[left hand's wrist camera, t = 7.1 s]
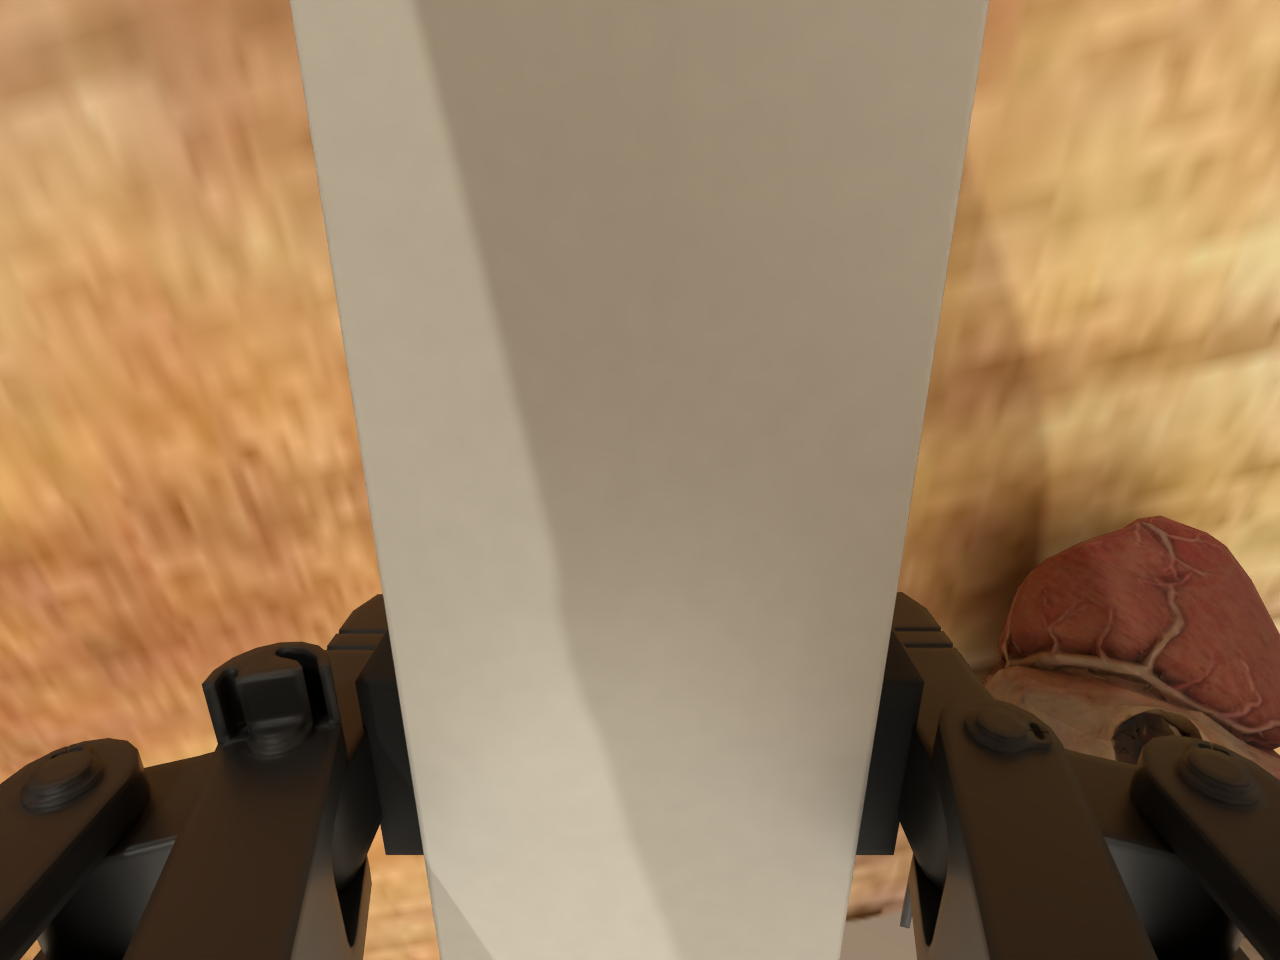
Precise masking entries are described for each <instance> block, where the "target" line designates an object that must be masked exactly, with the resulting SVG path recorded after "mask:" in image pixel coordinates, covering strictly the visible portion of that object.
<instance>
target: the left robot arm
mask: <svg viewBox="0 0 1280 960" xmlns="http://www.w3.org/2000/svg"><path fill="white" fill-rule="evenodd" d="M202 687H203V691H204V694H205V698H206V702H207V705H208V709H209V713H210V716H211V720H212V723H213V727H214V731H215V734H216V738H217V742H218V745H217V748H216V750H215V752H211V753H208V754H204V755H201V756H197V757H192V758H188V759H183V760H179V761H174V762H169V763H165V764H160V765H156V766H151V767H147V768H144V767H143V764H142V761H141V758H140V755H139V752H138V749H137V748H135V747H134V746H133V745H132V744H131V743H129V742H128V741H125V740H118V739H111V738H106V739H98V740H91V741H84V742H80V743H77V744H73V745H70V746H68V747H67V746H66V747H63V748H61V749H58V750H55V751H53V752H51V753H49V754H47V755H45V756H43V757H41V758H39V759H37V760H35V761H33V762H31V763H29V764H27V765H26V766H24V767H23V768H22V769H20V770H19V771H18V772H16V773H15V774H13V775H12V776H11V777H9V778H8V779H7V780H5V781H4V782H2V783H1V784H0V960H20V959H21V958H22V957H23V955H24V954H25V953H26V952H27V951H28V949H29V948H30V947H31V946H32V944H33V943H34V942H35V941H36V940H38V942H39V945H40V947H41V950H40V951H39V953H38V954H37V955H36V956H35V958H34V959H33V960H363V954H364V945H365V937H366V928H367V919H368V911H369V902H370V893H371V885H372V882H371V874H370V867H369V862H368V857H367V853H368V851H369V848H370V846H371V844H372V841H373V839H374V837H375V834H376V832H377V830H378V828H379V825H381V830H382V836H383V842H384V847H385V853H386V855H424V852H423V846H422V839H421V833H420V827H419V820H418V814H417V807H416V801H415V795H414V788H413V782H412V776H411V769H410V763H409V757H408V750H407V744H406V737H405V731H404V725H403V718H402V712H401V706H400V699H399V693H398V687H397V680H396V674H395V667H394V661H393V655H392V648H391V642H390V636H389V629H388V623H387V617H386V610H385V604H384V597H383V594H378V595H376V596H375V597H373V598H372V599H370V600H369V601H367V602H366V603H364V604H363V605H361V606H360V607H358V608H357V609H355V610H354V611H353V612H352V613H351V615H350V616H349V617H348V619H347V620H346V621H345V623H344V624H343V625H342V627H341V628H340V629H339V634H336V635H335V636H334V638H333V639H332V640H331V642H330V643H329V644H328V646H327V650H323V649H322V648H321V647H320V646H318V645H314V644H309V643H305V642H281V643H276V644H272V645H267V646H263V647H258V648H255V649H253V650H250V651H248V652H245V653H243V654H241V655H238V656H236V657H233V658H232V659H230V660H229V661H227V662H226V663H224V664H223V665H221V666H220V667H218V668H217V669H215V670H214V671H213V672H212V673H211V674H210V675H209V677H208V678H207V679H206V680H205V681H204V683H203V684H202ZM899 822H900V823H901V825H902V828H903V830H904V832H905V834H906V837H907V839H908V841H909V844H910V846H911V848H912V851H913V857H912V862H911V867H910V872H909V878H908V883H907V888H906V893H905V898H904V904H903V909H902V916H901V923H900V926H902V927H906V928H910V923H911V918H913V926H914V935H915V944H916V952H917V960H1250V959H1249V958H1248V957H1247V955H1246V954H1245V953H1244V952H1243V950H1242V949H1241V948H1240V947H1239V945H1240V943H1241V941H1242V939H1243V936H1245V938H1246V939H1247V940H1248V941H1249V942H1250V944H1251V945H1252V946H1253V947H1254V948H1255V950H1256V951H1257V952H1258V953H1259V954H1260V956H1261V957H1262V958H1263V959H1264V960H1280V780H1279V779H1277V778H1276V777H1275V776H1273V775H1272V774H1270V773H1269V772H1268V771H1266V770H1265V769H1263V768H1262V767H1261V766H1259V765H1258V764H1257V763H1255V762H1254V761H1252V760H1250V759H1248V758H1246V757H1244V756H1242V755H1240V754H1238V753H1236V752H1234V751H1232V750H1230V749H1228V748H1226V747H1223V746H1220V745H1218V744H1215V743H1214V744H1213V743H1210V742H1208V741H1204V740H1201V739H1197V738H1190V737H1183V736H1175V735H1169V736H1162V737H1155V738H1152V739H1151V740H1150V741H1149V742H1147V743H1146V744H1145V745H1144V746H1143V747H1142V750H1141V753H1140V756H1139V759H1138V762H1137V765H1133V764H1129V763H1124V762H1120V761H1115V760H1110V759H1106V758H1101V757H1097V756H1092V755H1087V754H1083V753H1079V752H1075V751H1072V750H1068V749H1065V748H1064V746H1063V744H1062V742H1061V741H1060V740H1059V738H1058V737H1057V735H1056V734H1055V733H1054V731H1053V730H1052V729H1051V727H1049V726H1048V725H1047V724H1045V723H1044V722H1043V721H1042V720H1040V719H1039V718H1038V717H1036V716H1035V715H1034V714H1032V713H1030V712H1028V711H1026V710H1024V709H1022V708H1020V707H1017V706H1015V705H1013V704H1011V703H1008V702H1004V701H1000V700H996V699H994V698H993V697H992V696H991V694H990V693H989V692H988V690H987V689H986V688H985V686H984V685H983V684H982V682H981V681H980V680H979V678H978V677H977V676H976V674H975V673H974V671H973V670H972V669H971V667H970V666H969V665H968V663H967V662H966V661H965V659H964V658H963V657H962V655H961V654H960V653H959V651H958V650H957V649H956V648H953V643H952V642H951V641H950V639H949V638H948V637H947V635H946V634H945V633H944V631H941V627H940V626H939V625H938V623H937V622H936V621H935V619H934V618H933V617H932V615H931V614H930V613H929V611H928V610H927V609H926V608H925V607H923V606H922V605H920V604H919V603H917V602H916V601H914V600H913V599H911V598H910V597H908V596H907V595H905V594H904V593H902V592H897V594H896V601H895V607H894V614H893V620H892V626H891V633H890V639H889V646H888V652H887V658H886V665H885V671H884V678H883V684H882V690H881V697H880V703H879V710H878V716H877V722H876V729H875V735H874V742H873V748H872V754H871V761H870V767H869V774H868V780H867V786H866V793H865V799H864V806H863V812H862V818H861V825H860V831H859V838H858V844H857V850H856V855H894V850H895V844H896V839H897V833H898V828H899Z"/></svg>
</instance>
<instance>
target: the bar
mask: <svg viewBox="0 0 1280 960" xmlns="http://www.w3.org/2000/svg"><path fill="white" fill-rule="evenodd" d="M290 6H291V12H292V19H293V25H294V31H295V38H296V44H297V50H298V57H299V63H300V70H301V76H302V82H303V89H304V95H305V101H306V108H307V114H308V120H309V127H310V133H311V139H312V146H313V152H314V159H315V165H316V171H317V178H318V184H319V190H320V197H321V203H322V209H323V216H324V222H325V229H326V235H327V241H328V248H329V254H330V260H331V267H332V273H333V279H334V286H335V292H336V299H337V305H338V311H339V318H340V324H341V330H342V337H343V343H344V349H345V356H346V362H347V368H348V375H349V381H350V388H351V394H352V400H353V407H354V413H355V419H356V426H357V432H358V438H359V445H360V451H361V458H362V464H363V470H364V477H365V483H366V489H367V496H368V502H369V508H370V515H371V521H372V528H373V534H374V540H375V547H376V553H377V559H378V566H379V572H380V578H381V585H382V591H383V597H384V604H385V610H386V617H387V623H388V629H389V636H390V642H391V648H392V655H393V661H394V667H395V674H396V680H397V687H398V693H399V699H400V706H401V712H402V718H403V725H404V731H405V737H406V744H407V750H408V757H409V763H410V769H411V776H412V782H413V788H414V795H415V801H416V807H417V814H418V820H419V827H420V833H421V839H422V846H423V852H424V858H425V865H426V871H427V877H428V884H429V890H430V896H431V903H432V909H433V916H434V922H435V928H436V935H437V941H438V947H439V954H440V960H839V959H840V953H841V946H842V940H843V934H844V927H845V921H846V914H847V908H848V902H849V895H850V889H851V882H852V876H853V870H854V863H855V857H856V850H857V844H858V838H859V831H860V825H861V818H862V812H863V806H864V799H865V793H866V786H867V780H868V774H869V767H870V761H871V754H872V748H873V742H874V735H875V729H876V722H877V716H878V710H879V703H880V697H881V690H882V684H883V678H884V671H885V665H886V658H887V652H888V646H889V639H890V633H891V626H892V620H893V614H894V607H895V601H896V594H897V588H898V582H899V575H900V569H901V562H902V556H903V550H904V543H905V537H906V530H907V524H908V518H909V511H910V505H911V498H912V492H913V486H914V479H915V473H916V466H917V460H918V454H919V447H920V441H921V435H922V428H923V422H924V415H925V409H926V403H927V396H928V390H929V383H930V377H931V371H932V364H933V358H934V351H935V345H936V339H937V332H938V326H939V319H940V313H941V307H942V300H943V294H944V287H945V281H946V275H947V268H948V262H949V255H950V249H951V243H952V236H953V230H954V223H955V217H956V211H957V204H958V198H959V191H960V185H961V179H962V172H963V166H964V159H965V153H966V147H967V140H968V134H969V127H970V121H971V115H972V108H973V102H974V95H975V89H976V83H977V76H978V70H979V63H980V57H981V51H982V44H983V38H984V31H985V25H986V19H987V12H988V6H989V0H290Z"/></svg>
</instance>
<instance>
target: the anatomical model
mask: <svg viewBox="0 0 1280 960" xmlns="http://www.w3.org/2000/svg"><path fill="white" fill-rule="evenodd" d="M998 642H999V659H1000V661H999V663H998V664H997V665H996V667H995V668H994V669H993V671H992V672H991V673H990V675H989V676H988V678H987V680H986V682H985V684H984V686H985V688H986V689H987V690H988V692H989V693H990V694H991V696H992V697H993V698H994V699H996V700H1000V701H1004V702H1008V703H1011V704H1013V705H1015V706H1017V707H1020V708H1022V709H1024V710H1026V711H1028V712H1030V713H1032V714H1034V715H1035V716H1036V717H1038V718H1039V719H1040V720H1042V721H1043V722H1044V723H1045V724H1047V725H1048V726H1049V727H1051V729H1052V730H1053V731H1054V733H1055V734H1056V735H1057V737H1058V738H1059V740H1060V741H1061V742H1062V744H1063V746H1064V748H1065V749H1068V750H1072V751H1075V752H1079V753H1083V754H1087V755H1092V756H1097V757H1101V758H1106V759H1110V760H1115V761H1120V762H1124V763H1129V764H1133V765H1137V762H1138V759H1139V756H1140V753H1141V750H1142V747H1143V746H1144V745H1145V744H1146V743H1147V742H1149V741H1150V740H1151V739H1152V738H1155V737H1162V736H1169V735H1175V736H1183V737H1190V738H1197V739H1201V740H1204V741H1208V742H1210V743H1213V744H1214V743H1215V744H1218V745H1220V746H1223V747H1226V748H1228V749H1230V750H1232V751H1234V752H1236V753H1238V754H1240V755H1242V756H1244V757H1246V758H1248V759H1250V760H1252V761H1254V762H1255V763H1257V764H1258V765H1259V766H1261V767H1262V768H1263V769H1265V770H1266V771H1268V772H1269V773H1270V774H1272V775H1273V776H1275V777H1276V778H1277V779H1279V780H1280V755H1279V754H1277V753H1276V752H1275V751H1274V750H1273V749H1276V748H1278V747H1280V634H1279V632H1278V630H1277V628H1276V626H1275V625H1274V623H1273V621H1272V619H1271V617H1270V615H1269V613H1268V611H1267V609H1266V607H1265V605H1264V603H1263V601H1262V600H1261V598H1260V596H1259V594H1258V592H1257V590H1256V588H1255V586H1254V584H1253V582H1252V580H1251V579H1250V577H1249V576H1248V575H1247V573H1246V572H1245V571H1244V569H1243V568H1242V567H1241V565H1240V564H1239V563H1238V561H1237V560H1236V559H1235V557H1234V556H1233V555H1232V553H1231V552H1230V551H1229V549H1228V548H1227V547H1226V546H1225V545H1224V544H1222V543H1221V542H1220V541H1218V540H1217V539H1215V538H1214V537H1212V536H1211V535H1209V534H1208V533H1206V532H1203V531H1200V530H1198V529H1195V528H1192V527H1189V526H1187V525H1184V524H1181V523H1179V522H1176V521H1173V520H1170V519H1168V518H1165V517H1162V516H1155V517H1148V518H1141V519H1137V520H1136V521H1134V522H1132V523H1131V524H1129V525H1128V526H1126V527H1125V528H1123V529H1121V530H1117V531H1114V532H1111V533H1107V534H1104V535H1101V536H1098V537H1095V538H1092V539H1090V540H1087V541H1084V542H1081V543H1079V544H1077V545H1075V546H1073V547H1071V548H1069V549H1067V550H1065V551H1062V552H1060V553H1058V554H1056V555H1054V556H1052V557H1050V558H1048V559H1046V560H1045V561H1043V562H1042V563H1041V564H1040V565H1039V566H1037V567H1036V568H1035V569H1034V570H1032V571H1031V572H1030V573H1029V574H1028V576H1027V577H1026V578H1025V580H1024V581H1023V582H1022V584H1021V585H1020V586H1019V588H1018V590H1017V593H1016V594H1015V596H1014V598H1013V601H1012V604H1011V607H1010V610H1009V613H1008V616H1007V619H1006V622H1005V625H1004V628H1003V631H1002V634H1001V636H1000V638H999V640H998ZM1239 947H1240V948H1241V949H1242V950H1243V952H1244V953H1245V954H1246V955H1247V957H1248V958H1249V959H1250V960H1264V959H1263V958H1262V957H1261V956H1260V954H1259V953H1258V952H1257V951H1256V950H1255V948H1254V947H1253V946H1252V945H1251V944H1250V942H1249V941H1248V940H1247V939H1246V938H1245V936H1243V939H1242V941H1241V943H1240V945H1239Z"/></svg>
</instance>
